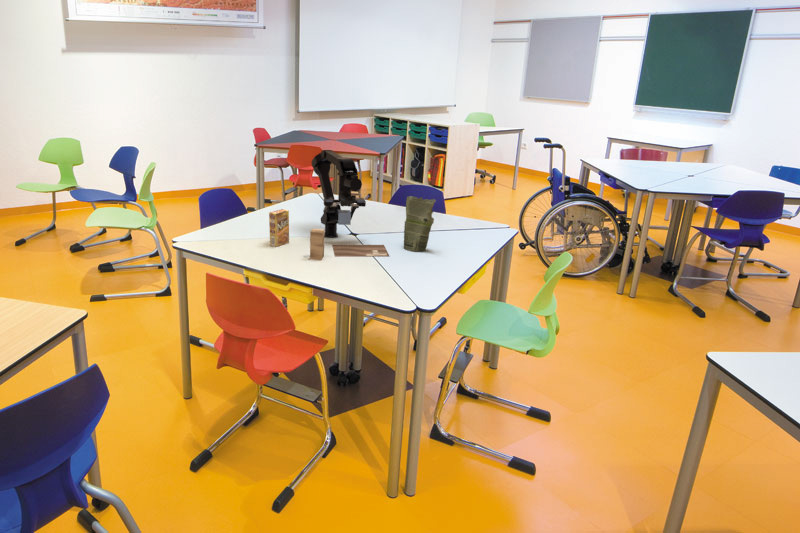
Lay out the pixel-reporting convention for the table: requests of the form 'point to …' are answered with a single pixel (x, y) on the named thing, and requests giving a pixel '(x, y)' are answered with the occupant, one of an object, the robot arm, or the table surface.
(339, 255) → the board
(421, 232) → the pouch
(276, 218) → the candy box
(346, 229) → the table surface
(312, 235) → the oak block
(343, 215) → the slate cube
